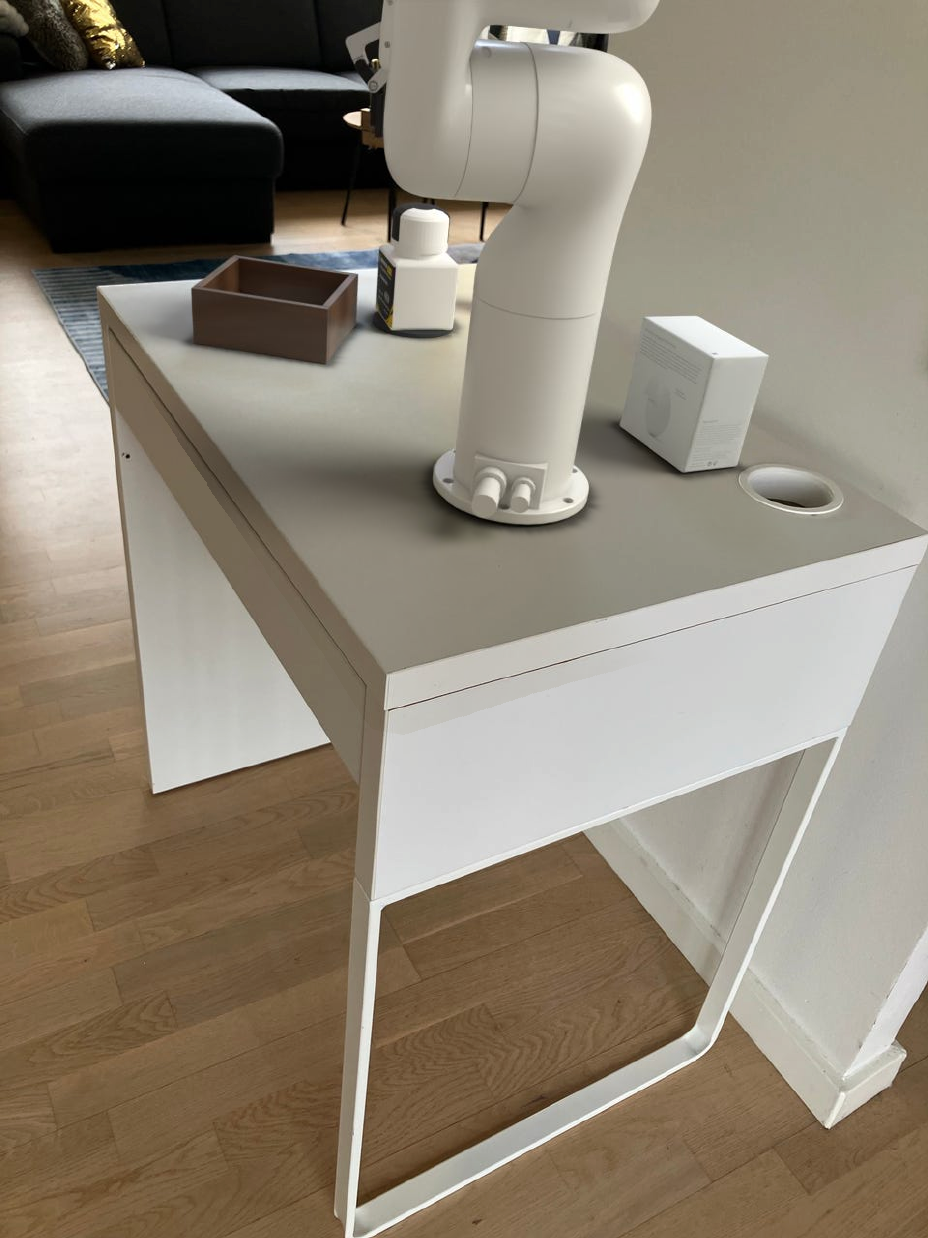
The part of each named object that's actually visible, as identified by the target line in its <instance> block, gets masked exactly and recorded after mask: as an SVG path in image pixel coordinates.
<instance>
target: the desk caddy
mask: <svg viewBox="0 0 928 1238" xmlns="http://www.w3.org/2000/svg"><path fill="white" fill-rule="evenodd" d="M358 290H359V273H354V272H348V271H342V270H335V269H329V268H322V267H315V266H309V265H302V264H295V263H288V262H282V261H276V260H270V259H269V260H268V259H263V258H256V257H250V256H242V255H238V254H237V255H235V254H234V255H232V256H231V257H230V258H228V259H227V260H226V261H225V262H223V263H222V264H221V265H219V266H218V267H217V268H216V269H214V270H213V271H212V272H210V273H209V274H208V275H206V276H205V277H204V278H202V279H201V280H200V281H199V282H197V283H196V284H194V286H192V287H191V289H190V292H191V293H190V294H191V316H192V338H193V340H192V341H193V344H198V345H202V346H203V345H204V346H209V347H216V348H223V349H229V350H235V351H242V352H247V353H248V352H249V353H254V354H260V355H268V356H273V357H278V358H279V357H280V358H285V359H286V358H287V359H292V360H298V361H305V362H312V363H317V364H323V365H326V364H328V362H329V361H330V359H331V358H332V357H333V355H334V354H335V353H336V352H337V350H339V347H340V346H341V345H343V342H344V341H345V340H346V339H347V338H348V336H349V335H350V333H351V332H352V331H353V329H354V328H355V326H356V325H357V315H358V311H357V310H358V293H359V291H358Z"/></svg>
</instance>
